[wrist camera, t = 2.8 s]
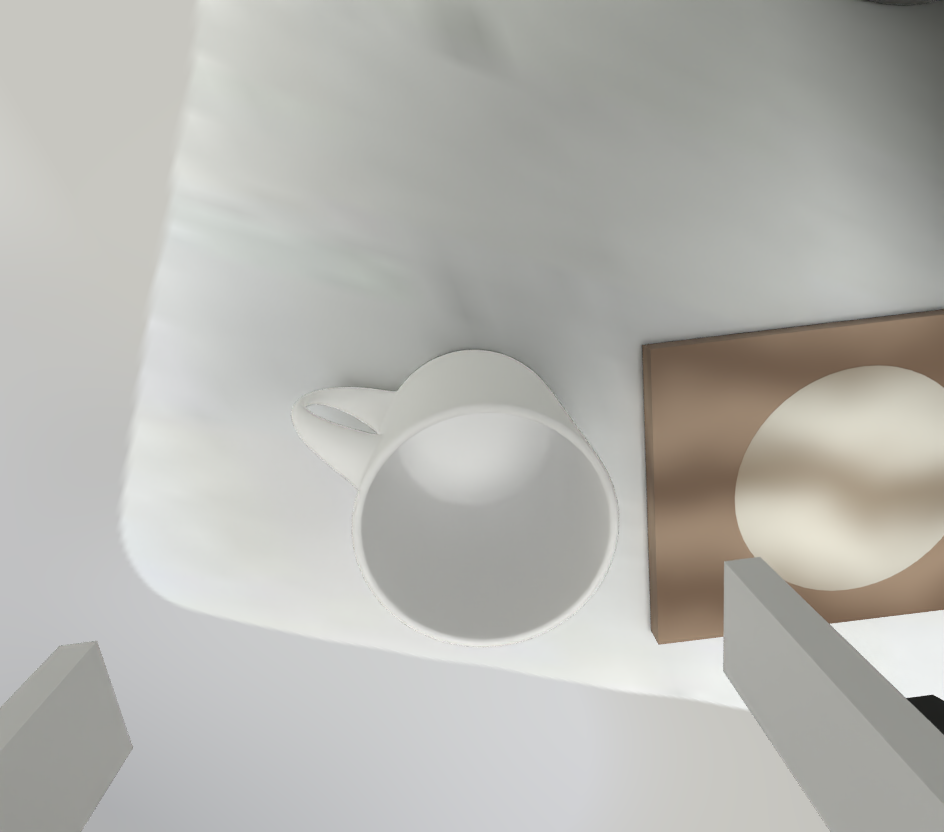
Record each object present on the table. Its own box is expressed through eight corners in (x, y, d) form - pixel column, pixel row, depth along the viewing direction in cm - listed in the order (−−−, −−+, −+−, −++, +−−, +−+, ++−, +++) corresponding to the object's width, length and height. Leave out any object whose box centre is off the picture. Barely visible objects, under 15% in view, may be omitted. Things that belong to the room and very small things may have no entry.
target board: (642, 345, 28) (650, 349, 27) (1054, 296, 28) (1081, 298, 27) (651, 630, 33) (658, 645, 32) (1007, 587, 33) (1028, 599, 32)
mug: (356, 286, 27) (301, 312, 17) (589, 387, 29) (668, 466, 19) (294, 450, 29) (210, 562, 19) (514, 535, 31) (548, 680, 21)
